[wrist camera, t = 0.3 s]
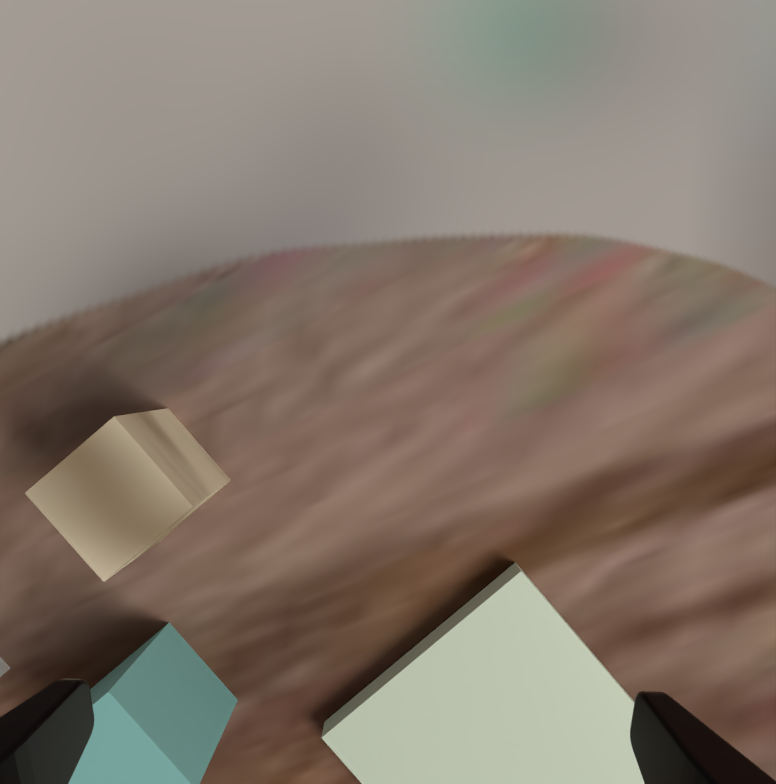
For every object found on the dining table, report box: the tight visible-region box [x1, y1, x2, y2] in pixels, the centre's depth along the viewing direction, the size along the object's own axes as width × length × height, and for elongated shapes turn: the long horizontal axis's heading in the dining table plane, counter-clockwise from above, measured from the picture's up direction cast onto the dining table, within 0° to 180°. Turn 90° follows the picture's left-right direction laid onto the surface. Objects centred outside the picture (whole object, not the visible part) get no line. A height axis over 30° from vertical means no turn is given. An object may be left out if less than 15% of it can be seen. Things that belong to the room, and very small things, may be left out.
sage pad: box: [321, 562, 645, 784], centre depth 22 cm, size 12×12×1 cm
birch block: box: [25, 408, 231, 582], centre depth 20 cm, size 4×4×4 cm
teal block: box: [68, 623, 238, 784], centre depth 20 cm, size 5×5×5 cm
